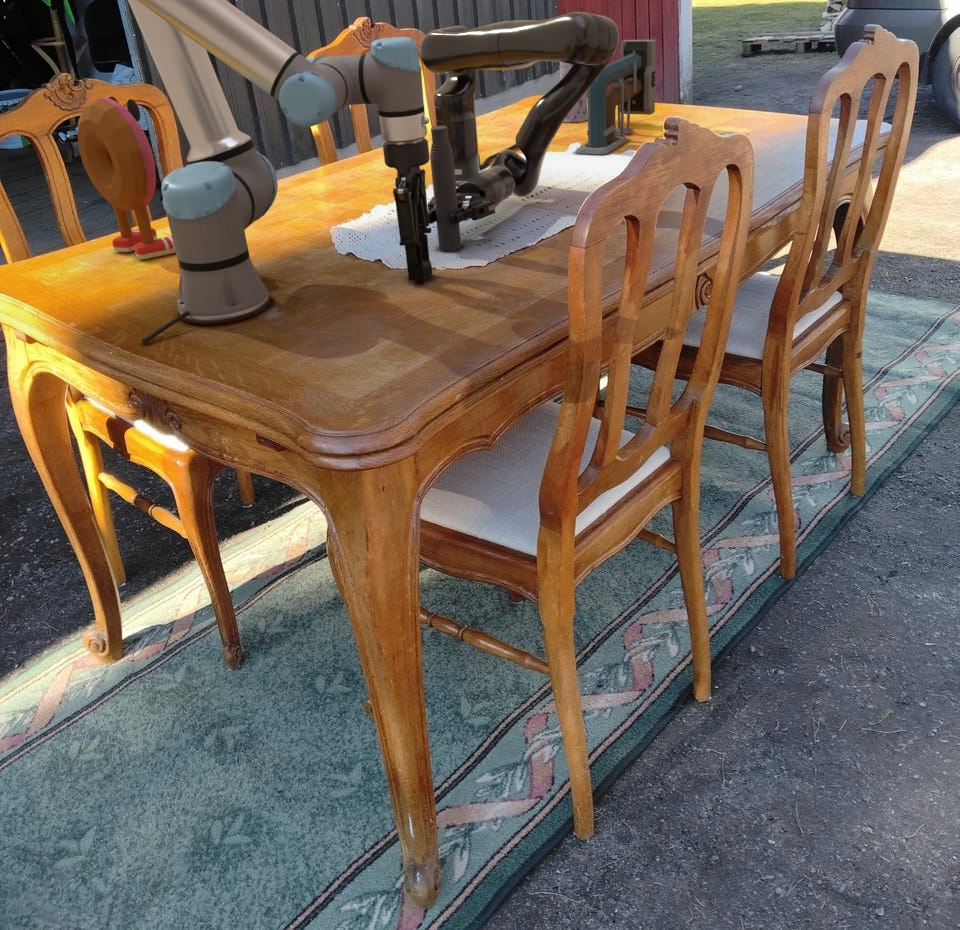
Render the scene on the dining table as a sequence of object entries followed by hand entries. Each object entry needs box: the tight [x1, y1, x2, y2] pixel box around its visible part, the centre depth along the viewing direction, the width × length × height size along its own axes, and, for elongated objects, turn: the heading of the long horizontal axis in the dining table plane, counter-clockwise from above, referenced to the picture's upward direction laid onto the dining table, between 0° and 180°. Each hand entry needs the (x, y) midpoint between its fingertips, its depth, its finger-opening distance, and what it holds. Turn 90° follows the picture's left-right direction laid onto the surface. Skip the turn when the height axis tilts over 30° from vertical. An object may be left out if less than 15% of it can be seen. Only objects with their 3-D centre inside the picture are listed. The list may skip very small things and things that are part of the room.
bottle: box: [429, 125, 462, 252], centre depth 180 cm, size 4×4×22 cm
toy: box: [77, 96, 176, 260], centre depth 191 cm, size 21×10×30 cm, turn 47°
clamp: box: [574, 39, 657, 155], centre depth 249 cm, size 35×9×21 cm, turn 151°
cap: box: [423, 259, 433, 279], centre depth 171 cm, size 4×4×2 cm
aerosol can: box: [559, 62, 588, 123], centre depth 273 cm, size 8×8×20 cm
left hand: (419, 275), depth 171 cm, fingers closed on cap, 4 cm apart
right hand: (440, 219), depth 180 cm, fingers closed on bottle, 4 cm apart
